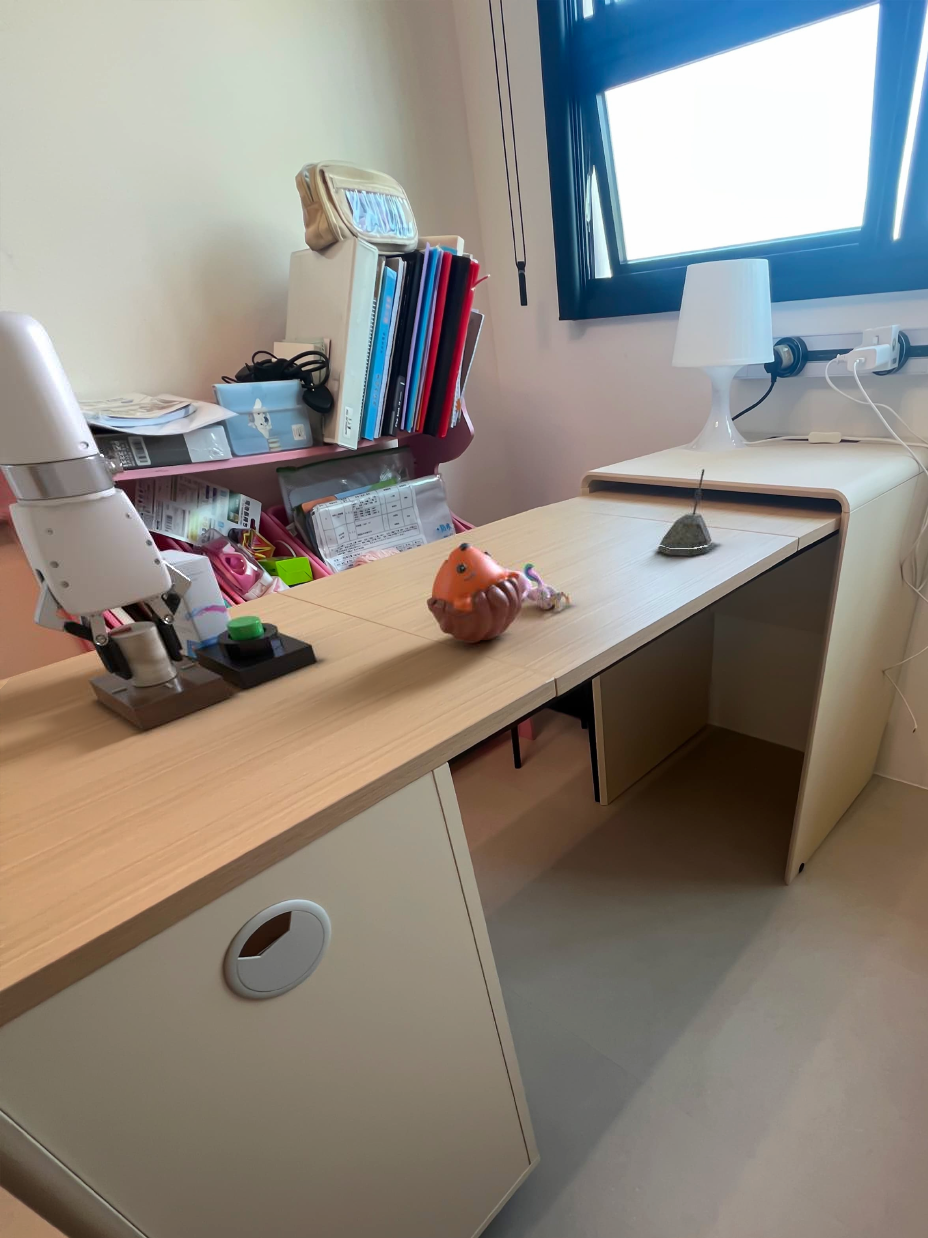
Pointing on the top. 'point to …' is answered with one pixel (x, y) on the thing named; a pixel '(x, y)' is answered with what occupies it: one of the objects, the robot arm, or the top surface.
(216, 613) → the ink box
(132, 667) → the dimmer knob
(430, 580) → the top surface
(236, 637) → the green button
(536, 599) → the pink plastic figure
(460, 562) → the orange toy creature
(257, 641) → the switch box
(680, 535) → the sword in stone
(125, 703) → the dimmer panel
